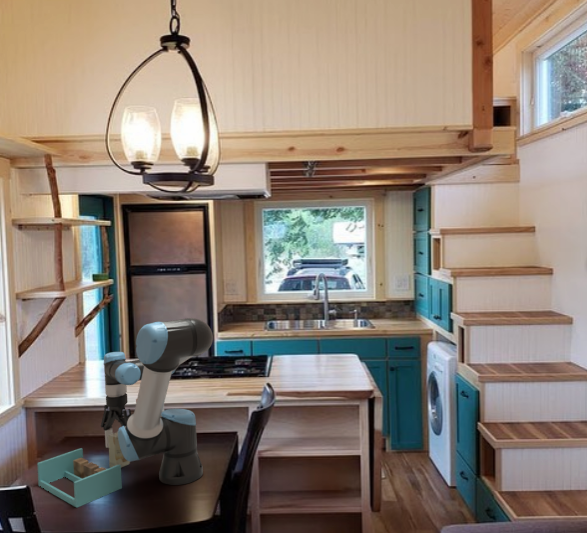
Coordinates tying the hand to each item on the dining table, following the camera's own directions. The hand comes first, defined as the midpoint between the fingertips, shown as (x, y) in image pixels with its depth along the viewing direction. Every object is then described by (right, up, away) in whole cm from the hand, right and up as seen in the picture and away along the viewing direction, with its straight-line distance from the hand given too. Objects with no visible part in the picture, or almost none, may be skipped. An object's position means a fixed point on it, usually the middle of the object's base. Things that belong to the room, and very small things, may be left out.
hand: (119, 450), depth 193 cm
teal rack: (-8, -7, -16) cm, 19 cm away
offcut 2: (0, -7, -17) cm, 18 cm away
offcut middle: (-5, -7, -13) cm, 15 cm away
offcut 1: (-11, -7, -8) cm, 15 cm away
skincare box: (0, -6, 0) cm, 6 cm away
